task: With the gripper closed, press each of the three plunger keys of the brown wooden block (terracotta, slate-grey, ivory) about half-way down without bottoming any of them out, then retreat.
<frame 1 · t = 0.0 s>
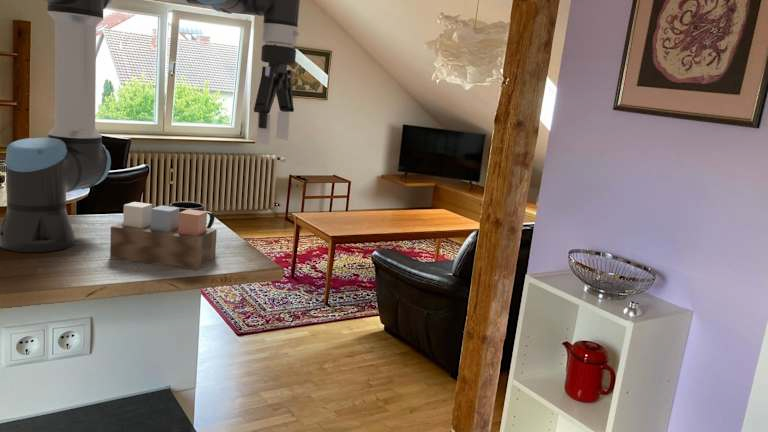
hand: (272, 141, 145), 28 cm above the table, fingers open, 13 cm apart
slate key: (165, 223, 141), point 8 cm above the table, slide at 0.0 cm
brown wooden block: (164, 258, 143), on the table
terracotta key: (192, 227, 140), point 8 cm above the table, slide at 0.0 cm
ivory key: (137, 219, 142), point 8 cm above the table, slide at 0.0 cm
mug: (191, 244, 156), on the table
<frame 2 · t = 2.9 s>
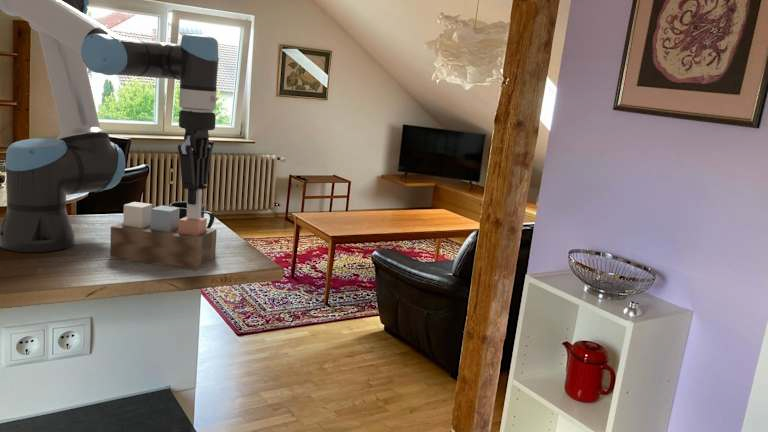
hand: (193, 217, 140), 10 cm above the table, fingers closed
terracotta key: (192, 234, 141), point 6 cm above the table, slide at 1.6 cm, touching gripper
everything else where it was.
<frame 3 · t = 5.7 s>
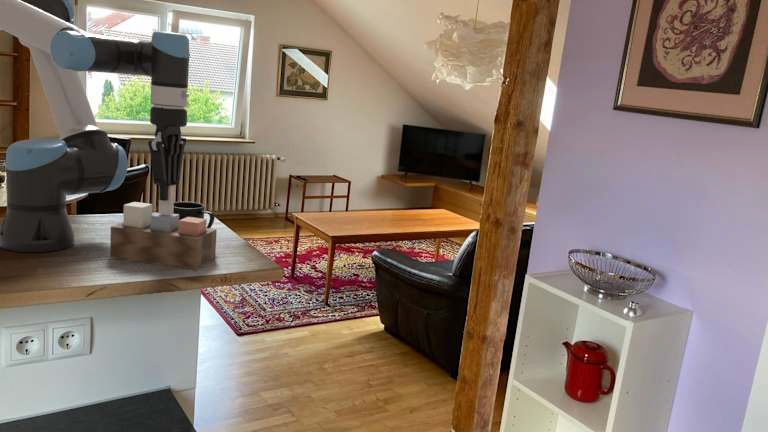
hand: (166, 213, 141), 10 cm above the table, fingers closed
slate key: (164, 230, 142), point 6 cm above the table, slide at 1.5 cm, touching gripper
terracotta key: (192, 235, 141), point 6 cm above the table, slide at 1.8 cm
everything else where it was.
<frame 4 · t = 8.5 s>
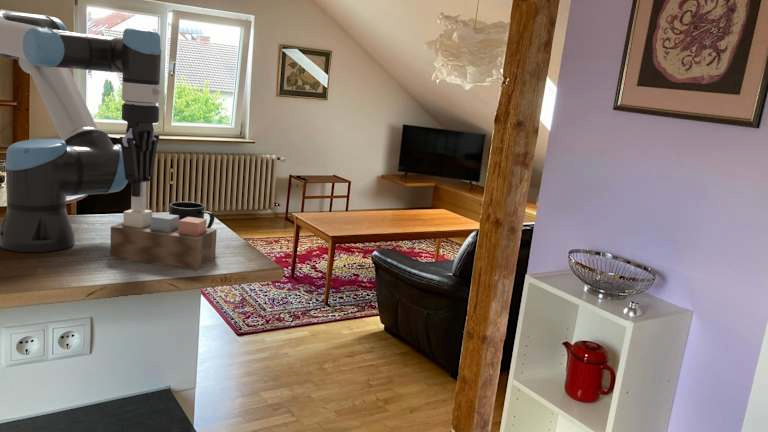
hand: (138, 210, 141), 10 cm above the table, fingers closed
slate key: (164, 231, 142), point 6 cm above the table, slide at 1.8 cm
ivory key: (137, 226, 142), point 7 cm above the table, slide at 1.5 cm, touching gripper
everything else where it was.
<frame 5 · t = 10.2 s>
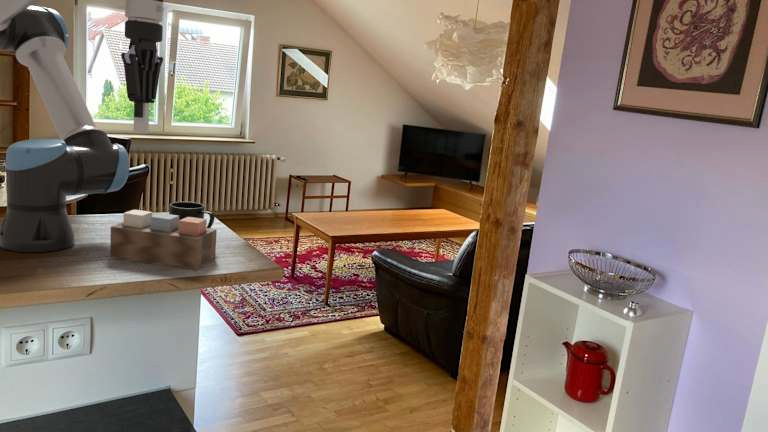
hand: (141, 132, 139), 28 cm above the table, fingers closed
ivory key: (137, 227, 142), point 6 cm above the table, slide at 1.8 cm
everything else where it was.
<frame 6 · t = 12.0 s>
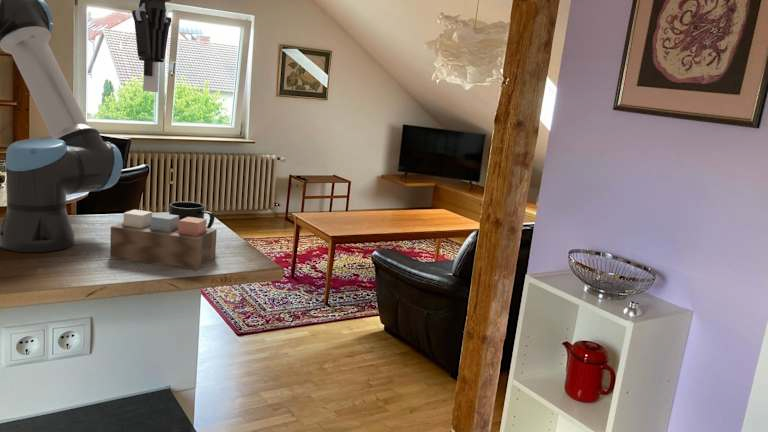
hand: (150, 91, 141), 36 cm above the table, fingers closed
nothing on the table moved.
at the end: terracotta key slide at 1.8 cm; slate key slide at 1.8 cm; ivory key slide at 1.8 cm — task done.
